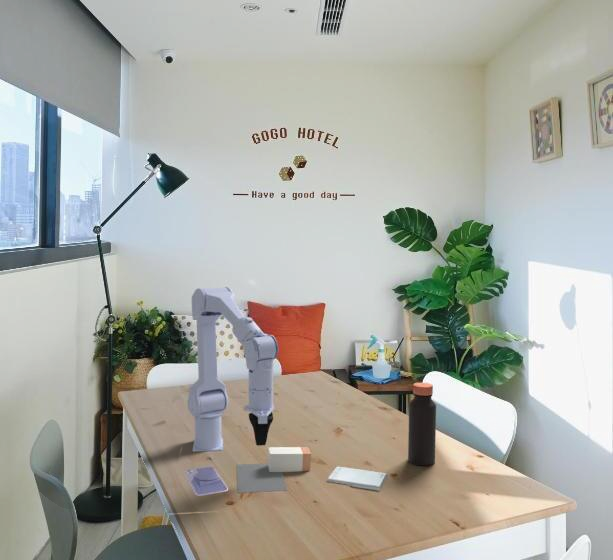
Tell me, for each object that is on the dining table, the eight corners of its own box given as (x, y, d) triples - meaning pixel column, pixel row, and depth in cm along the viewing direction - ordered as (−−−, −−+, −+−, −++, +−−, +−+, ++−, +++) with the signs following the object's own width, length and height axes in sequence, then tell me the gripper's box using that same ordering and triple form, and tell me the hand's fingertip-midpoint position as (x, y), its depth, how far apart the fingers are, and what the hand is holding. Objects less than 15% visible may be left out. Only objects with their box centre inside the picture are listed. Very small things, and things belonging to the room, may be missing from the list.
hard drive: (387, 472, 134) (337, 465, 138) (379, 486, 126) (327, 477, 130) (386, 479, 134) (337, 471, 138) (379, 493, 126) (327, 484, 130)
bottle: (423, 454, 148) (425, 380, 147) (440, 463, 142) (442, 386, 141) (402, 458, 145) (404, 383, 144) (419, 468, 139) (420, 389, 138)
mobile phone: (196, 495, 122) (182, 469, 136) (196, 499, 122) (182, 473, 136) (229, 489, 125) (213, 465, 139) (229, 493, 125) (213, 468, 139)
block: (268, 447, 139) (308, 447, 141) (267, 464, 140) (307, 464, 141) (270, 453, 135) (310, 453, 136) (269, 472, 135) (310, 471, 137)
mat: (236, 466, 140) (236, 464, 140) (280, 463, 141) (280, 462, 141) (237, 494, 124) (237, 492, 124) (287, 491, 126) (287, 490, 126)
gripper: (242, 380, 137) (242, 434, 138) (244, 396, 123) (244, 456, 124) (271, 379, 138) (271, 433, 139) (276, 395, 124) (276, 455, 125)
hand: (260, 444), depth 131 cm, fingers closed
